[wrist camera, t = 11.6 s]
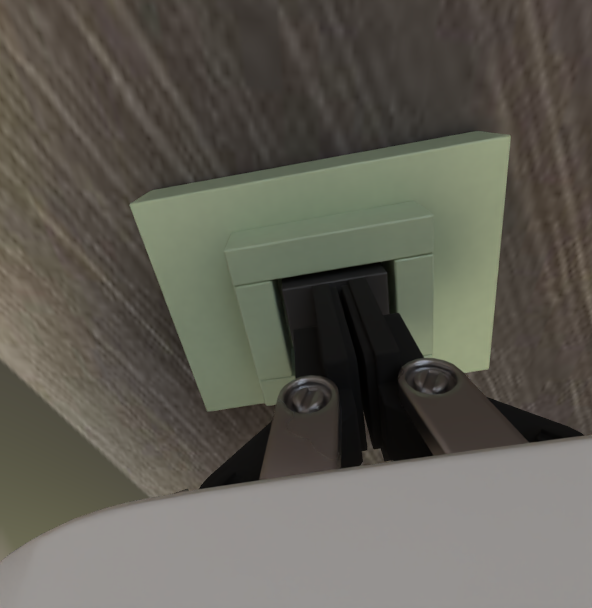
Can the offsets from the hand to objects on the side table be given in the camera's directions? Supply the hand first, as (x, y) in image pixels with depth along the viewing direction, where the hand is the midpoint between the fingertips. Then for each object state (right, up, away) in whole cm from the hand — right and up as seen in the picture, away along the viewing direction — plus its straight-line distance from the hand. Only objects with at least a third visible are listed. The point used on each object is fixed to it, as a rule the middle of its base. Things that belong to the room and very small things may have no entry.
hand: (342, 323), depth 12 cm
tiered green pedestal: (0, +2, +4) cm, 4 cm away
